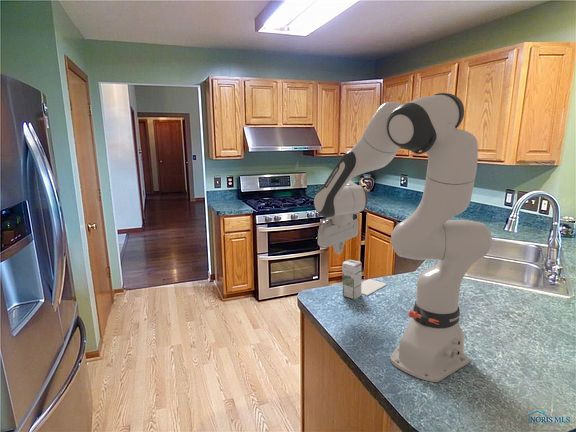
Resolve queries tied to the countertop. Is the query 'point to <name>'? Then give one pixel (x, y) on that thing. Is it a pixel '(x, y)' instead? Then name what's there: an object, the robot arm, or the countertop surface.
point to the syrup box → (351, 279)
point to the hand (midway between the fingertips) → (338, 252)
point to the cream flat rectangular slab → (371, 286)
